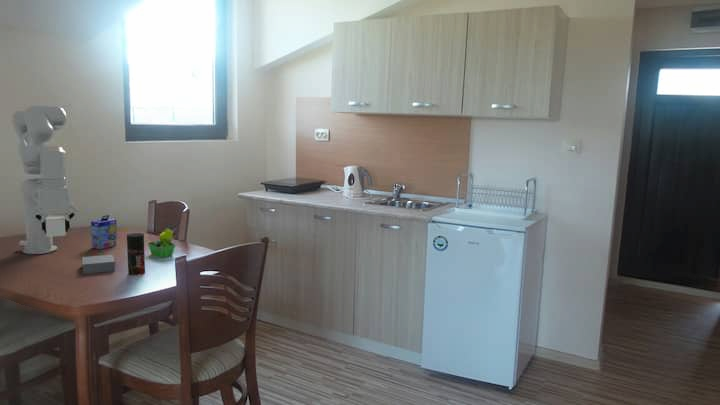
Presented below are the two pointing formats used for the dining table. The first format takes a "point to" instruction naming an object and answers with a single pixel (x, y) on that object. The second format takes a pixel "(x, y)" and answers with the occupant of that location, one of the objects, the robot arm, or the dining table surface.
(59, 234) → the cream cube
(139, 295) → the dining table surface
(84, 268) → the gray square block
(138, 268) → the deodorant
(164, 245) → the green potted plant
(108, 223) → the ink cartridge box
